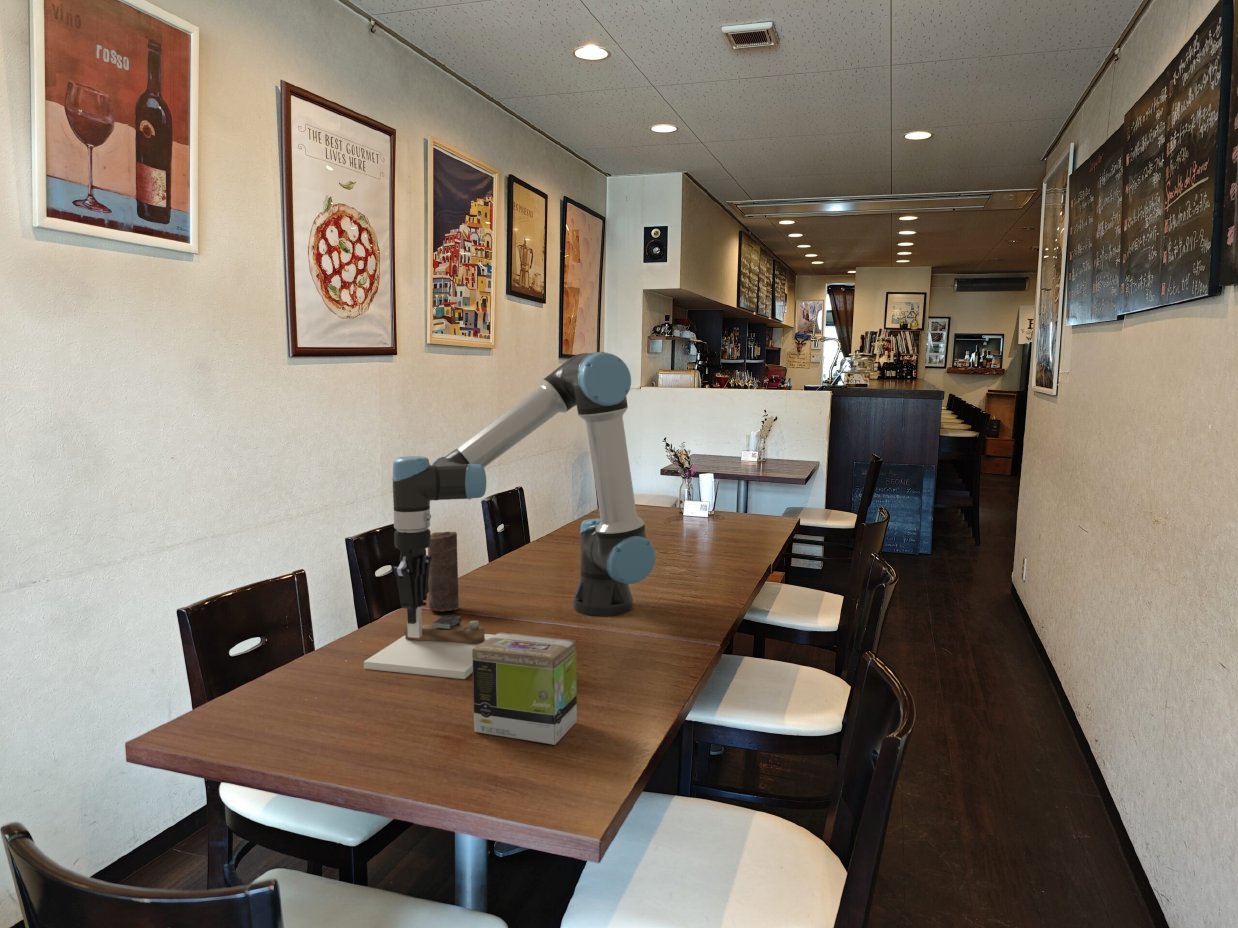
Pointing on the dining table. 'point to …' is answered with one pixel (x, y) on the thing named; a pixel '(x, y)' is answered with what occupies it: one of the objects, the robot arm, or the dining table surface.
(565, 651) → the tea box
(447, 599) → the candle
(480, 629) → the link
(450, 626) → the keeper
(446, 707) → the dining table surface
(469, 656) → the base plate
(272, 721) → the dining table surface
